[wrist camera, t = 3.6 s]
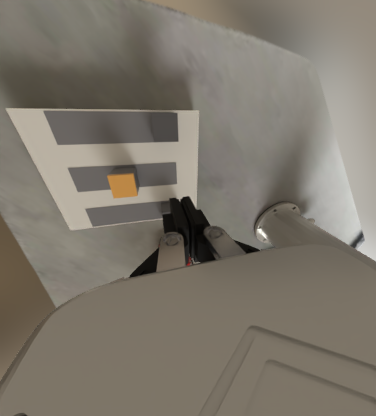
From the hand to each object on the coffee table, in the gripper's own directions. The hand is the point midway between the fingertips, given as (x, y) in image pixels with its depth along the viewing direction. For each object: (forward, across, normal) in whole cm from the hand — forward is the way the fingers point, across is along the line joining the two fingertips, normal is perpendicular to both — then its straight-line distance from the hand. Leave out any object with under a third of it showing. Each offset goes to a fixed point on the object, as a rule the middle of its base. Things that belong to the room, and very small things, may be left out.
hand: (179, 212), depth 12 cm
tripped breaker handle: (+12, +6, 0) cm, 13 cm away
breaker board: (+15, +6, 0) cm, 17 cm away
